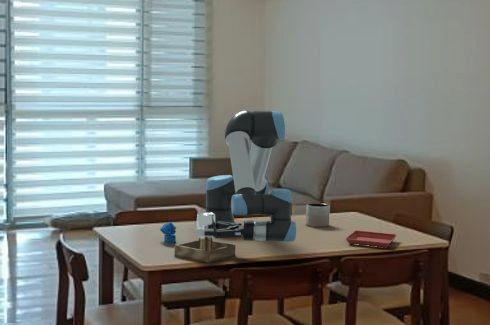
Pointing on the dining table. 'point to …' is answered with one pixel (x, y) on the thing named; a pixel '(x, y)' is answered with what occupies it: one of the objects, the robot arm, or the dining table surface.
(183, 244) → the crate
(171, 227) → the blue figurine
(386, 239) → the plant saucer
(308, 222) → the planter
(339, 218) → the dining table surface
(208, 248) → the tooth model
